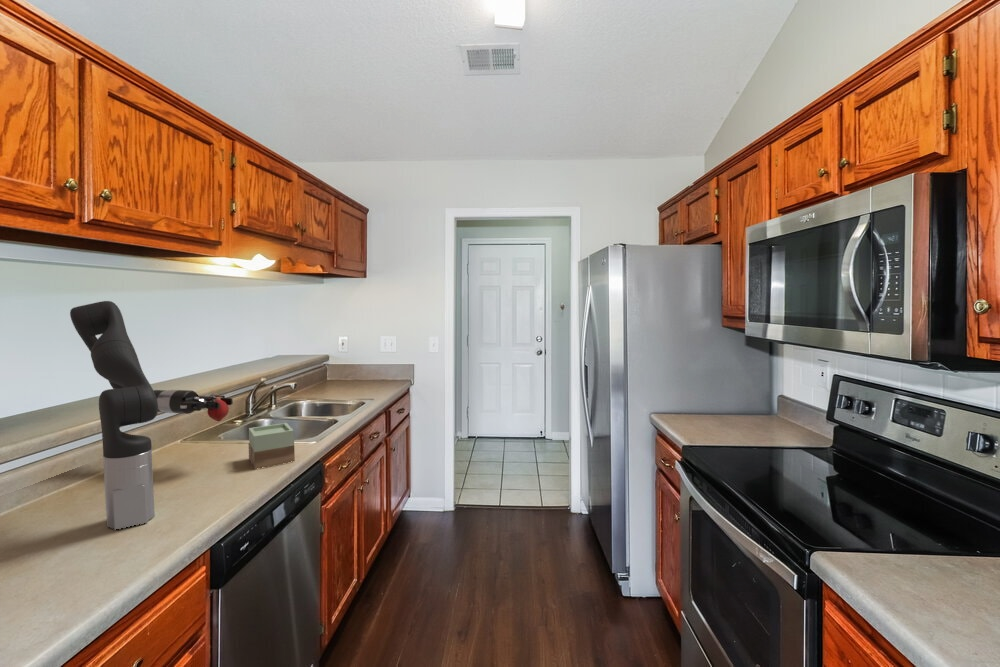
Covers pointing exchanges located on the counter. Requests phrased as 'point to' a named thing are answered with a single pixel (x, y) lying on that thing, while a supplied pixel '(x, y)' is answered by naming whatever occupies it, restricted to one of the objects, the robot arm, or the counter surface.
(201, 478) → the counter surface
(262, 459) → the tower base
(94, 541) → the counter surface
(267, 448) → the tower top
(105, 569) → the counter surface
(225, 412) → the onion
